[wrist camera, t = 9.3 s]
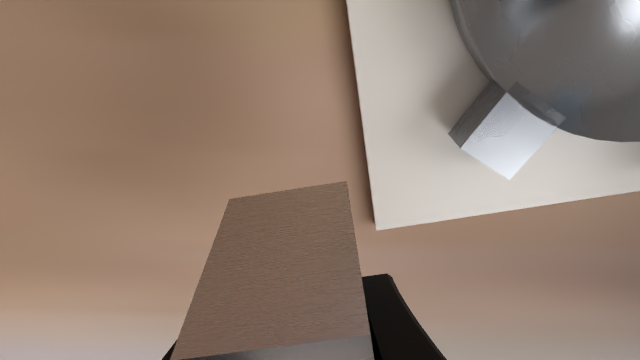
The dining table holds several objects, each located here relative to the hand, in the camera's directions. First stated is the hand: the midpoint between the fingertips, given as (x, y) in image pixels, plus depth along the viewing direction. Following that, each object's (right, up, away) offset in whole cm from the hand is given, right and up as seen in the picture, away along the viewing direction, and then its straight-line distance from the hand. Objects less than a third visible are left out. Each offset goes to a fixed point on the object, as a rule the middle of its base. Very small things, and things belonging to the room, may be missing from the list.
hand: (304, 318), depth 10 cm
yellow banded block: (0, +1, +2) cm, 2 cm away
